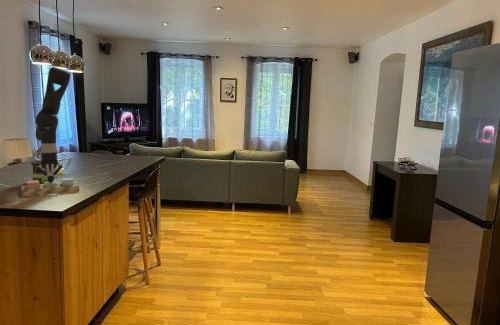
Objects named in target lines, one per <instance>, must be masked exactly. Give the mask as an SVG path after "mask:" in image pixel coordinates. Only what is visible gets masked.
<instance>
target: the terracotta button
mask: <svg viewBox="0 0 500 325" xmlns="http://www.w3.org/2000/svg"><path fill="white" fill-rule="evenodd" d="M26 186H27V189H32V188H39V180H35V181H32V180H27V181H26Z"/></svg>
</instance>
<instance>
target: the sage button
mask: <svg viewBox="0 0 500 325" xmlns="http://www.w3.org/2000/svg"><path fill="white" fill-rule="evenodd" d="M57 183H58V182H57V181H56V180H54V181H53V182H52V183H49V182H45V187H57Z"/></svg>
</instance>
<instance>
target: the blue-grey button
mask: <svg viewBox="0 0 500 325" xmlns="http://www.w3.org/2000/svg"><path fill="white" fill-rule="evenodd" d="M74 182H75V181H74V178H73V177H66V178H65V177H64V178H61V183H62V186H69V185H74Z"/></svg>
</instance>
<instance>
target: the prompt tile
mask: <svg viewBox="0 0 500 325" xmlns="http://www.w3.org/2000/svg"><path fill="white" fill-rule="evenodd" d="M46 197H47V198H52V197H59V193H58V194H57V193H49V194H47V195H46Z"/></svg>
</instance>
